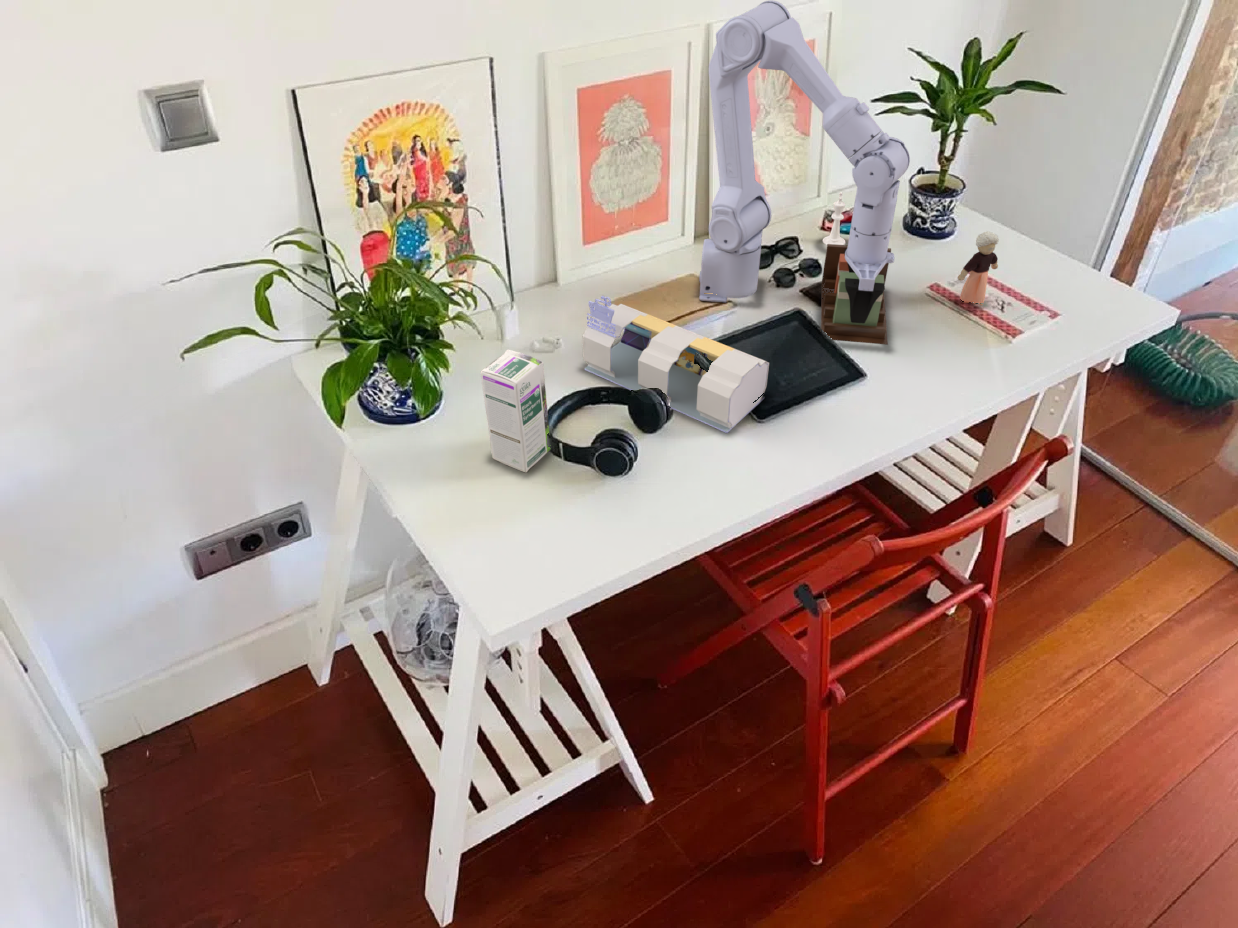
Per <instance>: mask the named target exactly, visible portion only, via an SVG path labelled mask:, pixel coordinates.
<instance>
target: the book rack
mask: <svg viewBox="0 0 1238 928" xmlns="http://www.w3.org/2000/svg"><path fill="white" fill-rule="evenodd" d="M846 248H848V244H844V245H836V244H827V245H826V251H825V258H824V262H823V263H824V265H823V270H822V277H821V298H820V299H821V303H820V305H821V306H820V309H821V310H820V312H821V313H820V330H821V329H822V330H823V331H824V332H826V333H827V335H828V336H830V338H832V340H831V341H836V342H837V341H839V342H851V343H862V344H872V345H873V344H874V345H887V346H888V345H889V340H888V329H887V327H888V326H887V316H886V314H887V313H886V302H885V291H884V292H883V296H882V301H881V306H880V311H879V316H878V321H877V326H865V325H852V324H840V323H833V316H834V309H835V303H836V297H837V293H832V292H833V291H831V290H830V292H831V293H830V292H828V293H826V292H827V290H826V292H825V291H824V289H823V288H829V289H835V283H836V277H837V270H838V263H839V257H840V254H844V251H845V249H846ZM887 252H890V253H892V248H889V247H888V250H887ZM889 265H890V263H886V264H885V265H884V267H883V268H882V270H881V271H880V272H879V274H878V275H884V284H885V285H886V280H887V276H888V275H887V274H888V270H889ZM824 283H825V285H824V287H823V285H822V284H824ZM822 287H823V288H822ZM822 289H823V290H822ZM822 291H824V293H822ZM824 294H825V295H824ZM822 298H823V299H822Z"/></svg>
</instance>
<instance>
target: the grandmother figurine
mask: <svg viewBox="0 0 1238 928" xmlns="http://www.w3.org/2000/svg"><path fill="white" fill-rule="evenodd" d="M975 241H976V242H975V246H976V247H977V250H978V251H977V252H976V253H974V254H973V256H972V257H971V258H970V259H969V260H968V261H967V262H966V264H965V265H964V266H963V267H962V270H961V271H960V274H958V276H957V279H958V281H961V282H963V281H964V280H965V278H966V276H967V278H966V280H965V282H964V283H963V286H962V289H961V293H960V296H959V300H960V299H961V300H962V301H964V302H963V304H964V303H965V304H974V305H976V304H975V303H979V304H978V305H980V306H981V307H982V306H983V305H984V303H985V299H986V294H987V285H988V277H989V271H990V268H991V269H992V270H997V269H998V268H999V264H998V256H997V254H996V252H994V251H995V249H996V245H998V244H999V241H1000V238H999V235H997V234H996V233H994V232H992V231H990V230H988V231H987V230H986V231H984V232H982V233H979V234H978V235H977V236H976V239H975ZM968 274H969V275H968ZM961 300H960V301H961ZM962 301H961V302H962ZM969 302H971V303H969ZM972 302H974V303H972ZM980 303H983V304H980Z"/></svg>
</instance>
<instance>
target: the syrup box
mask: <svg viewBox="0 0 1238 928" xmlns="http://www.w3.org/2000/svg"><path fill="white" fill-rule="evenodd" d="M480 379H481V386H482V393H483V402H484V408H485V415H486V416H485V417H486V422H487V427H488V428H487V429H488V436H489V444H490V452H491V457H492V459H493V460H495V461H497V462H499V463H501V464H503V465H506V466H509V467H510V468H513V469H515V470H518V471H520V472H523V473H528V472H529V470H530V469H531V468H533V467H534V466H535V465H536V464H537V463H538V462H539V461H540V460H541V459H543V457H544V456H545V455H546V454H548V452H549V451H551V448H550V447H548V445H547V434H548V433H549V434H550V427H549V415H548V402H547V392H546V382H545V381H546V380H545V379H546V378H545V367H544V362H543V361H542V360H540V359H537V358H535V357H533V356H531V355H528V354H526V353H522V352H519V351H516V350H512V349H509V348H508V349H506V350H505V352H504V353H503V354H501V355H500V356H499V357H497V358H496V359H494V360H493V361H492V362H490V364H487V366H486V367H484V368H483V369H482V370H481V371H480Z"/></svg>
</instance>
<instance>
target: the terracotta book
mask: <svg viewBox="0 0 1238 928" xmlns="http://www.w3.org/2000/svg"><path fill="white" fill-rule="evenodd" d="M840 272H849V269H848V264H847V261H846V260H845V254H840V257H839V263H838V270H837V277H836V283H835V290H834V293H837V290H838V283H839V277H840Z"/></svg>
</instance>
